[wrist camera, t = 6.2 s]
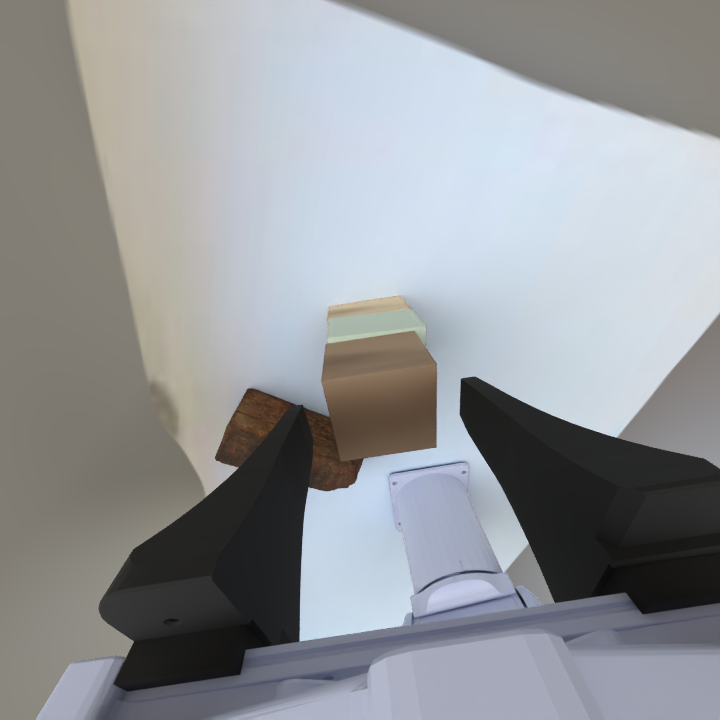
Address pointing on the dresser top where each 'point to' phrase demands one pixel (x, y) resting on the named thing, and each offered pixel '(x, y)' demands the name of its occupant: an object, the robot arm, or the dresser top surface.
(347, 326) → the sage block
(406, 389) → the walnut block
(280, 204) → the dresser top surface
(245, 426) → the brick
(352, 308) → the oak block
